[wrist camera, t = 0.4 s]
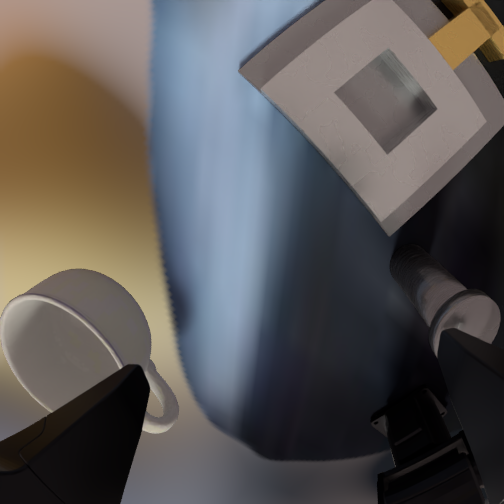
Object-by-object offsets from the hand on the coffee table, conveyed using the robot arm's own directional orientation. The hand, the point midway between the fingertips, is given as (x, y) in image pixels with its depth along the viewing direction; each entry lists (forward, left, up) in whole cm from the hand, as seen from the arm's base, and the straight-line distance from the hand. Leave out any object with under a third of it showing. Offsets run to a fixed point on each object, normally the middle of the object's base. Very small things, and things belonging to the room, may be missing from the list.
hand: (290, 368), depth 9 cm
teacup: (+3, +15, -13) cm, 20 cm away
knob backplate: (+2, -14, -13) cm, 19 cm away
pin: (-8, -5, -13) cm, 16 cm away
